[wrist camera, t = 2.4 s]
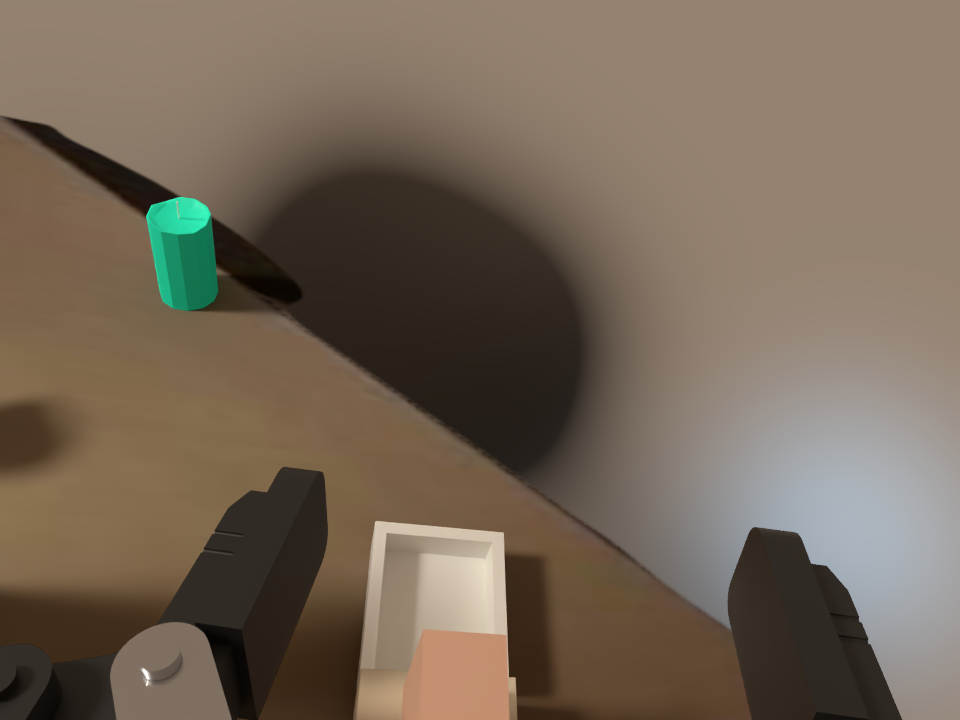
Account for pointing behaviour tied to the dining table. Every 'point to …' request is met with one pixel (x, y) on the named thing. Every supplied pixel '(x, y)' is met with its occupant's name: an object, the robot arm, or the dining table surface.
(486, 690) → the terracotta block
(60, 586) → the dining table surface
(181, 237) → the candle
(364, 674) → the cream block
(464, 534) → the tray
